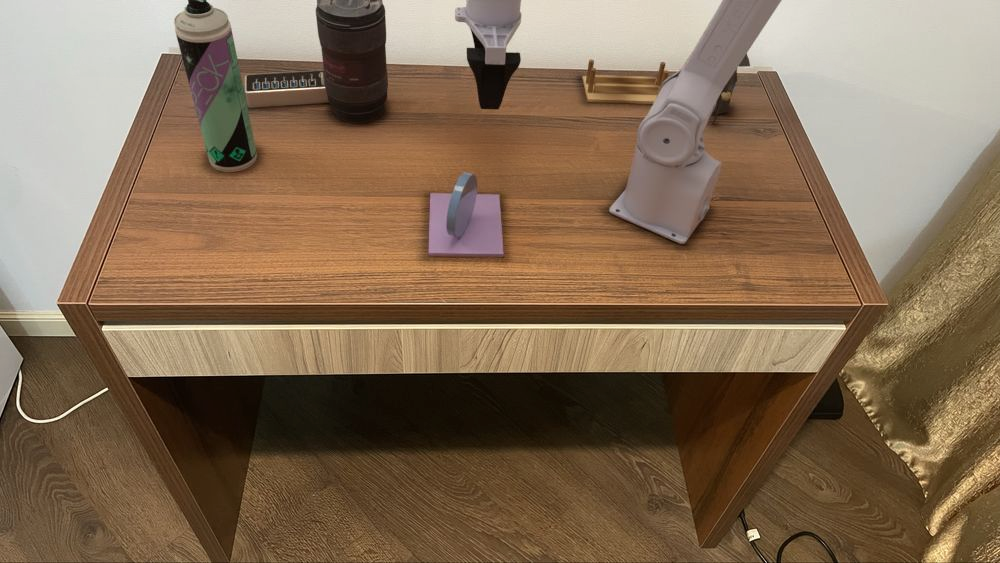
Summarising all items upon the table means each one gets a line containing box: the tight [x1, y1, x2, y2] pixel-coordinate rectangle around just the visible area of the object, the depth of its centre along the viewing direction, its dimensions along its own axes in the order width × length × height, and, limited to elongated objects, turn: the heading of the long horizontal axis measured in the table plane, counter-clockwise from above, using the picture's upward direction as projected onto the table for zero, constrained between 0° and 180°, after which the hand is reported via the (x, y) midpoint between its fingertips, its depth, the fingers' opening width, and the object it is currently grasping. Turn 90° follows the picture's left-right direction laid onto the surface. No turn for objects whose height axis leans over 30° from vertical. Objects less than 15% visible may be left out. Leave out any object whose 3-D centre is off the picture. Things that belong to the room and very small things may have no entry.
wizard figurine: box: [711, 53, 751, 125], centre depth 99 cm, size 8×6×12 cm
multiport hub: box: [244, 69, 330, 109], centre depth 99 cm, size 4×11×2 cm, turn 103°
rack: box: [581, 59, 670, 105], centre depth 104 cm, size 11×6×4 cm, turn 93°
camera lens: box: [315, 0, 389, 124], centre depth 93 cm, size 8×8×15 cm
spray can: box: [173, 0, 258, 173], centre depth 83 cm, size 6×6×20 cm
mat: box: [428, 192, 505, 258], centre depth 84 cm, size 10×8×1 cm
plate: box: [446, 171, 478, 238], centre depth 80 cm, size 7×1×7 cm, turn 162°
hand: (488, 88), depth 87 cm, fingers open, 7 cm apart
